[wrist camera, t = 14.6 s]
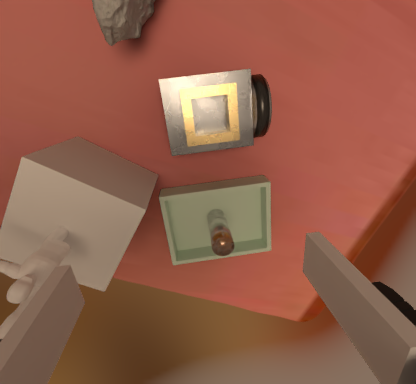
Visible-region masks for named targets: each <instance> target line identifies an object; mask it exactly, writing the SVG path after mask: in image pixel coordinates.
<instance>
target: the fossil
mask: <svg viewBox="0 0 416 384" xmlns="http://www.w3.org/2000/svg"><path fill="white" fill-rule="evenodd" d="M154 1H155V0H92V2H93V9H94V11H95V14H96V17H97V20H98V22H99V24H100V27H101V30H102V32H103V34H104V37H105V40H106V41H107V43H108V44H109V45H111V46H113V45H114V44H115V43H116V42H118V41H121V40H127V39H130V38H139V37H140V36H141V29H142V25H143V24H144V23H145V22H146V21H147V19H148V18H149V17H151V16H152V15H153V13H154Z"/></svg>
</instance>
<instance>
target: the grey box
mask: <svg viewBox="0 0 416 384" xmlns="http://www.w3.org/2000/svg"><path fill="white" fill-rule="evenodd" d="M157 178H158V174H156V173H154V172H152V171H149V170H147V169H145V168H143V167H141V166H139V165H137V164H135V163H133V162H131V161H129V160H126V159H124V158H122V157H120V156H118V155H116V154H114V153H112V152H110V151H108V150H106V149H103V148H101V147H99V146H97V145H95V144H93V143H91V142H89V141H87V140H85V139H83V138H80V137H75V138H72V139H70V140H67V141H64V142H61V143H58V144H56V145H53V146H50V147H47V148H45V149H42V150H39V151H36V152H33V153H31V154H28V155H25V156H22V158H21V162H20V165H19V168H18V172H17V175H16V179H15V182H14V185H13V189H12V192H11V195H10V199H9V202H8V205H7V209H6V212H5V216H4V219H3V222H2V226H1V229H0V258H1V259H4V260H7V261H10V262H13V263H10V262H7V261H1V260H0V272H2V273H4V274H6V275H8V276H9V277H11V278H13V279H18V280H17V281H15V282H14V283H13V284H12V285H11V287H10V288H9V290H8V292H7V300H8V301H9V302H11V303H15V304H17V303H20V305H19V306H18V308H17V309H16V310H15V311H14V312H13V313H12V314H11V315H10V316H8V317H7V318H6V320H5V321H4V322H3V324H2V325H1V326H0V339H3V338H4V336H5V335H6V334H7V332H8V331H9V330H10V328H11V327H12V325H13V324H14V323H15V321H16V320H17V319H18V317H19V316H20V315H21V313H22V312H23V311H24V309H25V308H26V306H27V305H28V304H29V302H30V301H31V300H32V298H33V297H34V296H35V294H36V293H37V291H38V290H39V289H40V287H41V286H42V285H43V283H44V282H45V281H46V279H47V278H48V277H49V275H50V274H51V272H52V271H53V270H54V268H55V267H58V266H65V265H71V268H72V270H73V273H74V275H75V278H76V281H77V283H79V284H82V285H85V286H88V287H91V288H94V289H97V290H100V291H104V292H105V290H106V287H107V286H108V284H109V282H110V280H111V278H112V276H113V274H114V272H115V270H116V269H117V267H118V265H119V263H120V261H121V259H122V257H123V255H124V253H125V251H126V249H127V247H128V245H129V243H130V241H131V239H132V237H133V235H134V233H135V231H136V229H137V227H138V225H139V223H140V221H141V219H142V217H143V216H144V214H145V212H146V209H147V207H148V204H149V201H150V198H151V195H152V192H153V189H154V187H155V184H156V181H157Z"/></svg>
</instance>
